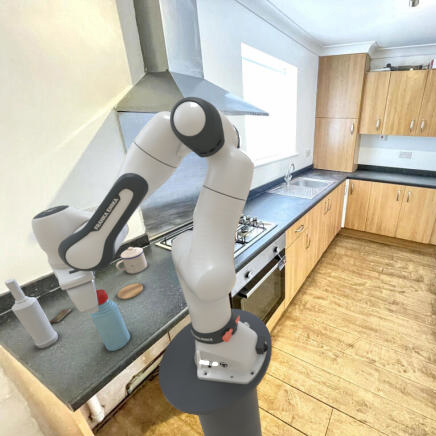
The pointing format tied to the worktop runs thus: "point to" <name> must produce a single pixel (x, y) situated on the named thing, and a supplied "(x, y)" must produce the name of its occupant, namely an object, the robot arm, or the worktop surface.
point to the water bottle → (111, 325)
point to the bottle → (32, 316)
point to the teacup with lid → (133, 260)
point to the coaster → (130, 291)
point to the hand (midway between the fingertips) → (94, 303)
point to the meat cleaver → (60, 315)
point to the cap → (101, 296)
